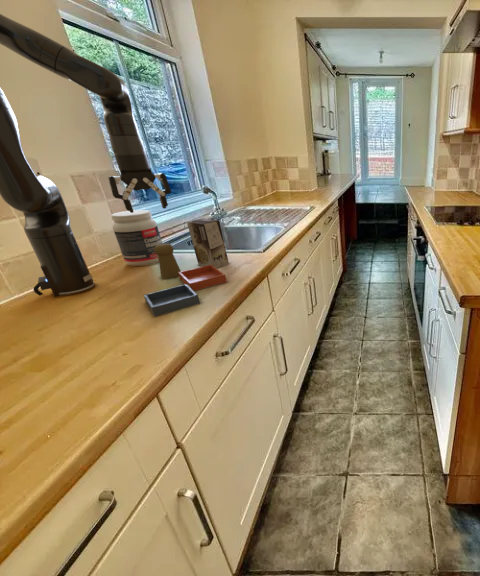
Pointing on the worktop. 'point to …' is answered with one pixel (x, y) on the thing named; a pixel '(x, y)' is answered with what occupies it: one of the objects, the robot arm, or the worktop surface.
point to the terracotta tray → (202, 277)
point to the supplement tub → (137, 237)
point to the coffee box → (208, 242)
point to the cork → (167, 261)
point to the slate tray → (171, 299)
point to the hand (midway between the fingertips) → (148, 210)
